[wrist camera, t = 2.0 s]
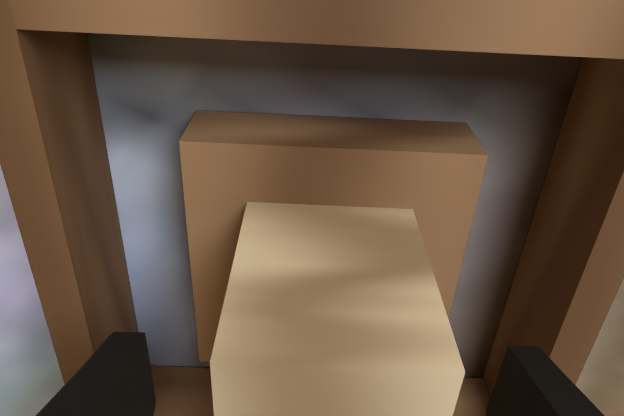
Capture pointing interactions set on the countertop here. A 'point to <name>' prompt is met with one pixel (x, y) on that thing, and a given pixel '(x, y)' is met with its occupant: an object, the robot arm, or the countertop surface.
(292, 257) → the maple block
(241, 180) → the slot box
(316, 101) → the countertop surface
